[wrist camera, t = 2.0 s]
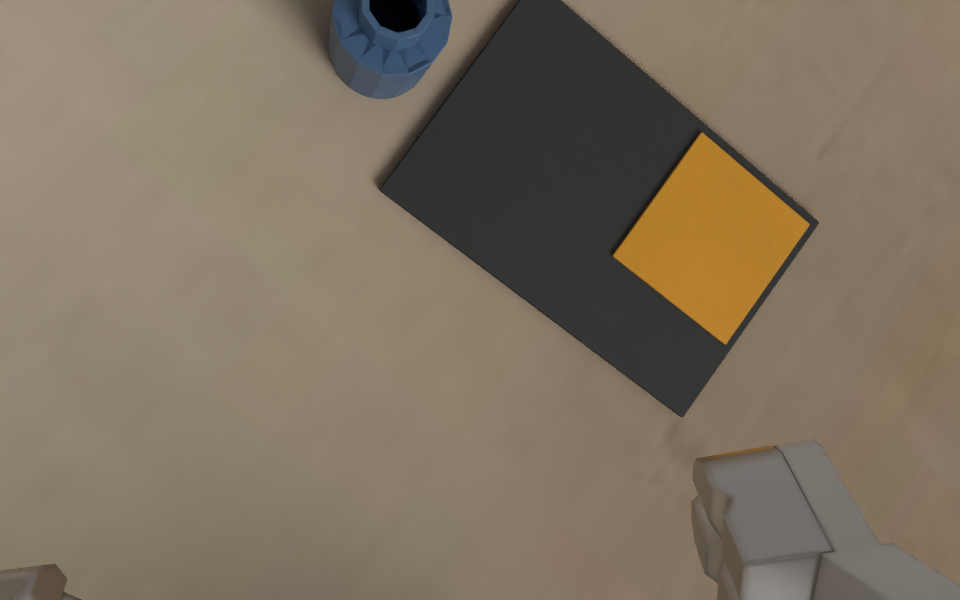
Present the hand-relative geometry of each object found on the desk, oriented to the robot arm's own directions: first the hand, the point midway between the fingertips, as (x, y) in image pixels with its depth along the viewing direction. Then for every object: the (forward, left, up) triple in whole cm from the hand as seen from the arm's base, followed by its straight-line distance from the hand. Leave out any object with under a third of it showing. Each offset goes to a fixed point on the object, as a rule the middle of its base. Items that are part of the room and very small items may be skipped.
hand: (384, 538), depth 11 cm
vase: (-5, +12, -31) cm, 34 cm away
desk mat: (+9, +13, -31) cm, 35 cm away
